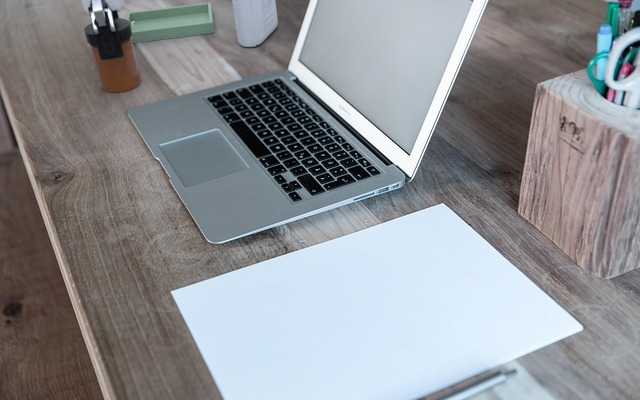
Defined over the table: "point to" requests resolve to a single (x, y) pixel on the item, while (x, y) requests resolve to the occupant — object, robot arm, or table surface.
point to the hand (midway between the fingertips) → (111, 45)
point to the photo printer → (254, 20)
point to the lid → (119, 24)
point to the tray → (171, 22)
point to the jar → (118, 69)
